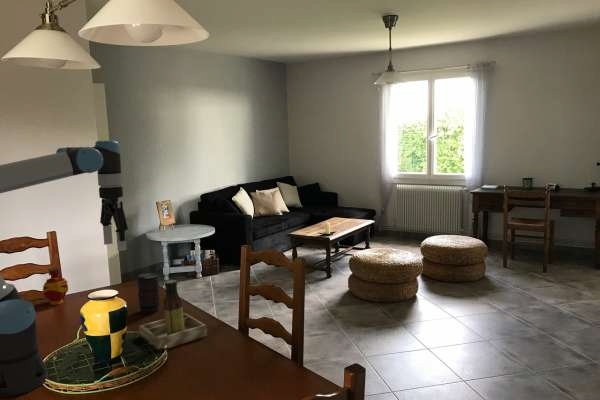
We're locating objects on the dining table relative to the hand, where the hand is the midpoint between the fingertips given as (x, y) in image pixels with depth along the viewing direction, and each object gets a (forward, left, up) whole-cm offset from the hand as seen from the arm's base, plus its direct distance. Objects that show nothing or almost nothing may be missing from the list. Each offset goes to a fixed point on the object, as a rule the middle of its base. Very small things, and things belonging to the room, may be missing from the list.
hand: (115, 247), depth 162 cm
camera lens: (+18, +18, -33) cm, 42 cm away
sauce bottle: (+14, -14, -32) cm, 38 cm away
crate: (+14, -12, -33) cm, 38 cm away
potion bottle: (-8, +56, -33) cm, 65 cm away
